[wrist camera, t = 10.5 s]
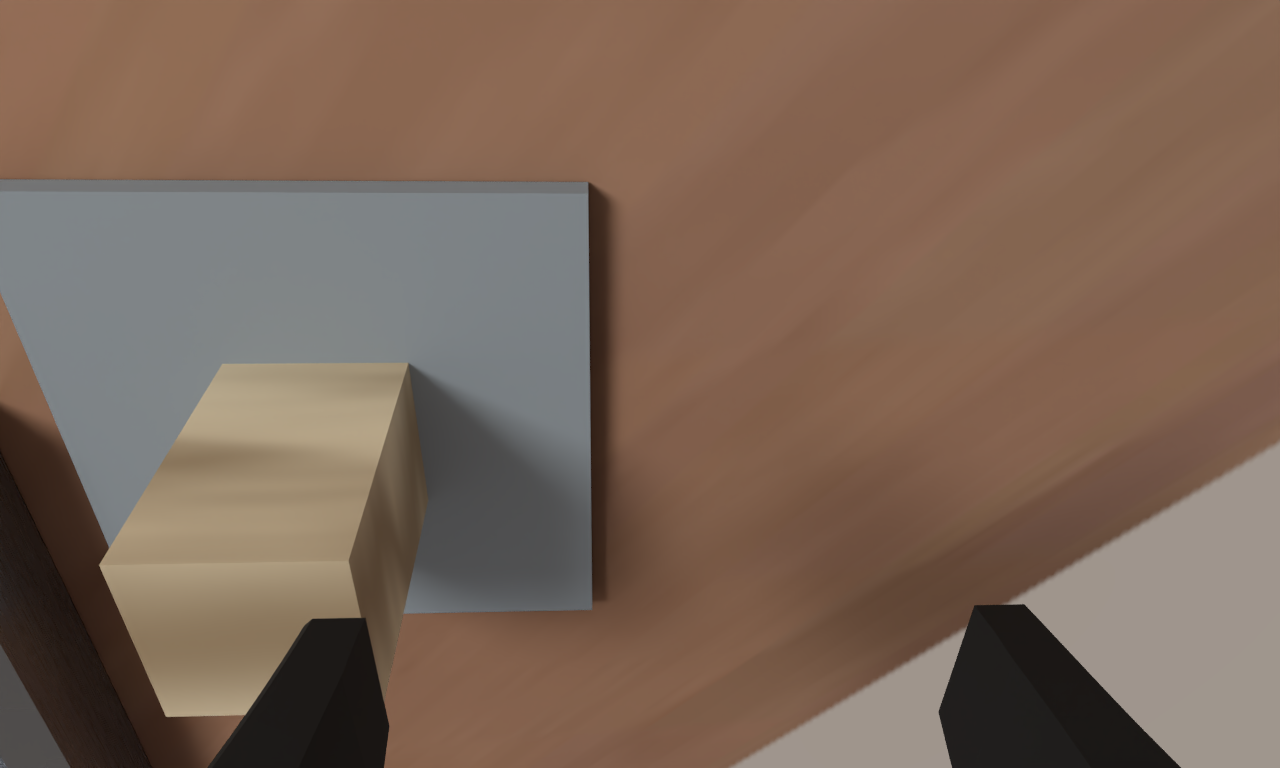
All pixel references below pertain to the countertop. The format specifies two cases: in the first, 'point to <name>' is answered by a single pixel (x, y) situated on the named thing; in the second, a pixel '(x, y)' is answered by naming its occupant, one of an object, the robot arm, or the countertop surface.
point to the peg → (272, 528)
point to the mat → (331, 343)
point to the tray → (50, 662)
